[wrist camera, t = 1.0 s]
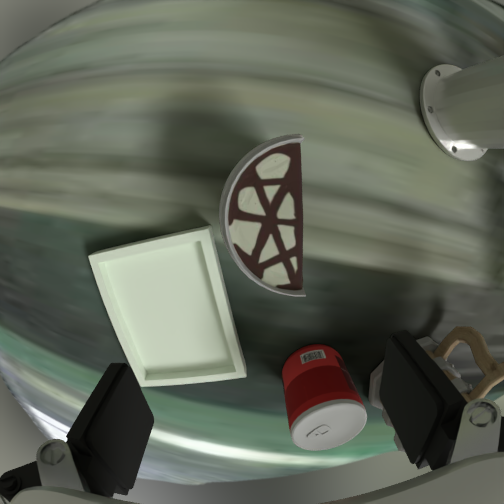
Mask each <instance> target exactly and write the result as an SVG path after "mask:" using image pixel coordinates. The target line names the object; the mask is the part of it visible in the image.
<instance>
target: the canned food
mask: <svg viewBox="0 0 504 504" xmlns="http://www.w3.org/2000/svg"><path fill="white" fill-rule="evenodd" d="M282 382H283V389H284V395H285V402H286V409H287V416H288V423H289V429H290V434H291V437H292V440H293V442H294V443H295V444H296V445H297V446H298V447H300V448H303V449H306V450H326V449H330V448H334V447H337V446H339V445H342V444H344V443H346V442H347V441H349V440H351V439H352V438H354V437H355V436H356V435H357V434H358V433H359V432H360V431H361V430H362V429H363V427H364V426H365V423H366V420H367V414H366V410H365V407H364V405H363V402H362V400H361V398H360V396H359V394H358V391H357V389H356V387H355V385H354V383H353V381H352V379H351V376H350V374H349V372H348V370H347V368H346V366H345V364H344V362H343V360H342V358H341V356H340V354H339V353H338V352H337V351H336V350H334V349H333V348H331V347H329V346H326V345H321V344H314V345H309V346H305V347H303V348H300V349H299V350H297V351H295V352H294V353H293V354H291V356H290V357H289V358H288V359H287V360H286V362H285V364H284V367H283V370H282Z"/></svg>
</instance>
